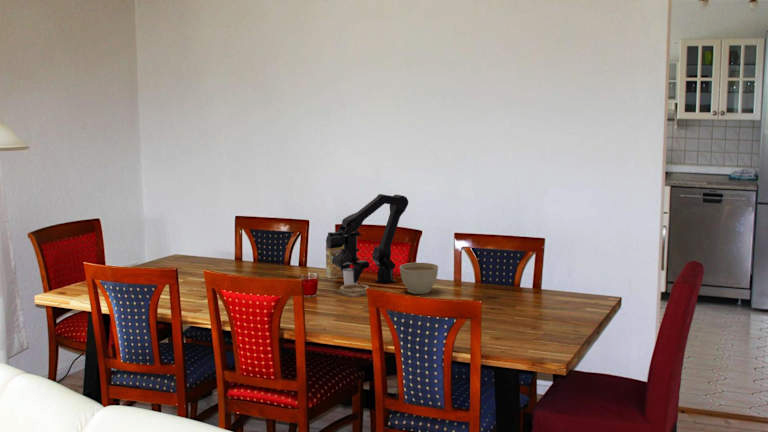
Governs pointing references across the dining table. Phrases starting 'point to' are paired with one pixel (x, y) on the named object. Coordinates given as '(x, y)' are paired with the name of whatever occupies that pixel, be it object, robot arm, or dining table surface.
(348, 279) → the white cup
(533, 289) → the dining table surface
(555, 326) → the dining table surface
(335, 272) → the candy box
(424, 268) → the planter bowl
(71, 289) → the dining table surface
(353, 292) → the saucer
